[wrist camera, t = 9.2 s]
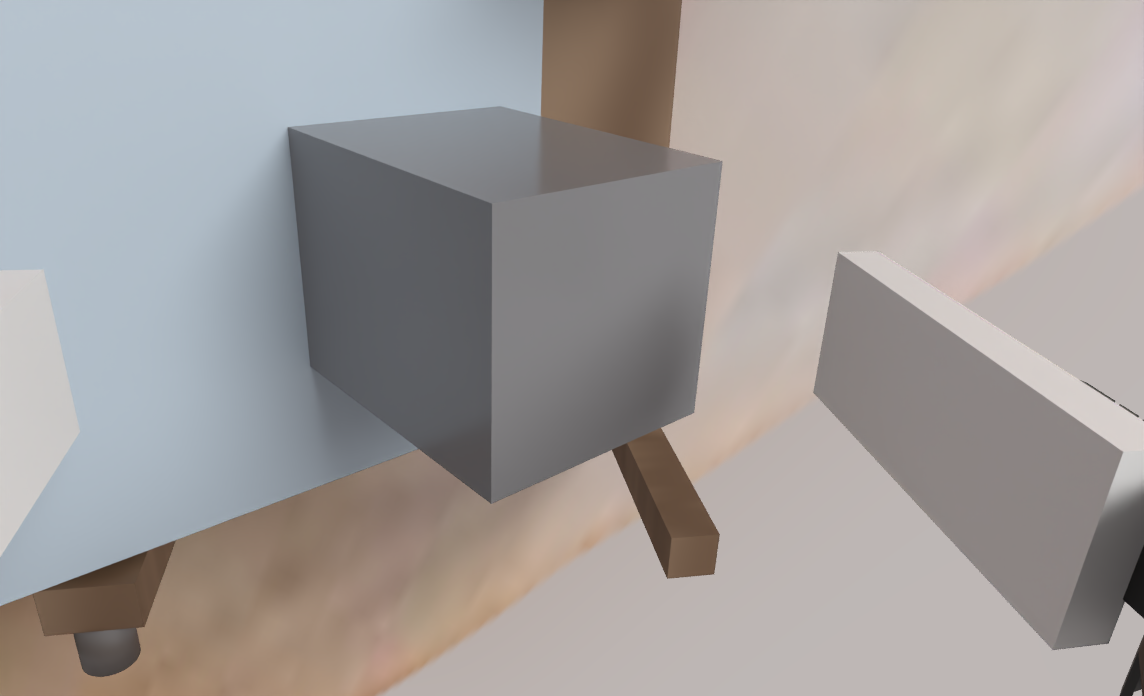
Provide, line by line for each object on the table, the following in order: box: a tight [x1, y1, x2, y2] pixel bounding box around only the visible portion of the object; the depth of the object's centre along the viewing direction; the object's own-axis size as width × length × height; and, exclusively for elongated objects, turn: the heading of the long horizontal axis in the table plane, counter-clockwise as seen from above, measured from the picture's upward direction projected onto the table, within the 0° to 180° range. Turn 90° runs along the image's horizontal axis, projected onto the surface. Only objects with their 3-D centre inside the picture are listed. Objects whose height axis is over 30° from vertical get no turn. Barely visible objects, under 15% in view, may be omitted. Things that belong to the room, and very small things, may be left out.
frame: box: [33, 0, 720, 677], centre depth 20 cm, size 19×18×9 cm
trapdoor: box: [0, 0, 544, 606], centre depth 20 cm, size 16×13×4 cm
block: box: [288, 106, 722, 504], centre depth 18 cm, size 6×6×7 cm
